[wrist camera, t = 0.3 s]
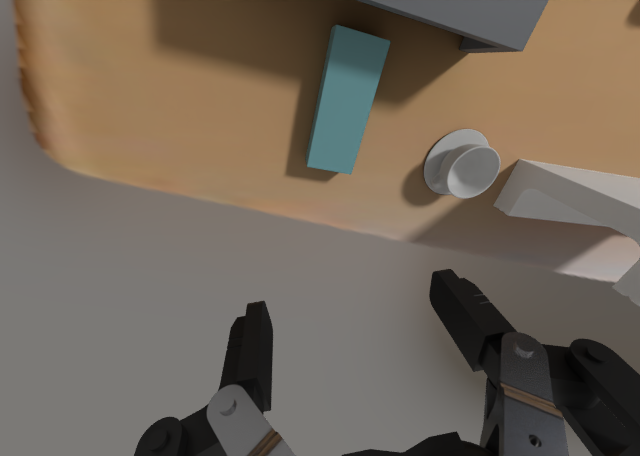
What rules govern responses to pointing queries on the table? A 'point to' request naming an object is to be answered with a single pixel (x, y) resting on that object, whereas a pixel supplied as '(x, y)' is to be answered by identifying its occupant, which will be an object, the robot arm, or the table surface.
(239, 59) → the table surface
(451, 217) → the table surface
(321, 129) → the teal rectangular slab
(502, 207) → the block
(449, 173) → the teacup
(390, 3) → the overhang shelf
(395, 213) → the table surface
